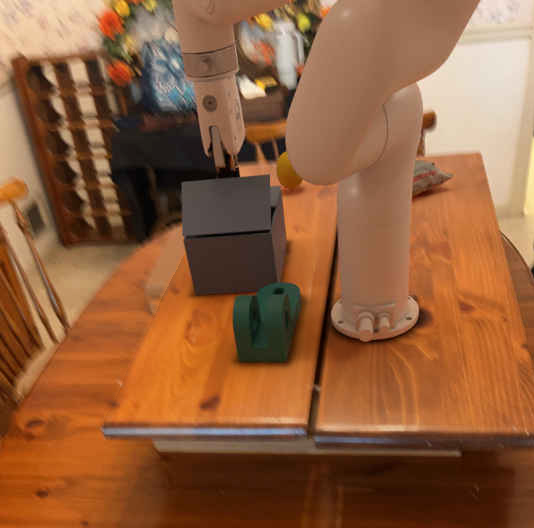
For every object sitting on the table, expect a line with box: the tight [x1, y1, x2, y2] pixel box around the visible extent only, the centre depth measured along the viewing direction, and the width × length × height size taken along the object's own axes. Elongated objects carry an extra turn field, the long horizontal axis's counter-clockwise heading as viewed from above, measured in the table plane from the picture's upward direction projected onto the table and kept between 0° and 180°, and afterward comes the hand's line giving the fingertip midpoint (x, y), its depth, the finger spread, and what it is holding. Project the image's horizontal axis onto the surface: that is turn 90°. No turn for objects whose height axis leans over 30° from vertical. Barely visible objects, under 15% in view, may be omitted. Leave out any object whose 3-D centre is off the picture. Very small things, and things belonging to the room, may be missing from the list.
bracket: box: [232, 281, 302, 363], centre depth 93 cm, size 18×7×8 cm, turn 170°
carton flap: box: [181, 173, 271, 238], centre depth 97 cm, size 8×14×1 cm
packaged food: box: [412, 159, 454, 198], centre depth 122 cm, size 9×12×5 cm
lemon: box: [275, 149, 304, 192], centre depth 128 cm, size 6×6×8 cm
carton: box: [182, 185, 288, 296], centre depth 106 cm, size 17×14×10 cm
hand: (232, 195), depth 101 cm, fingers closed
